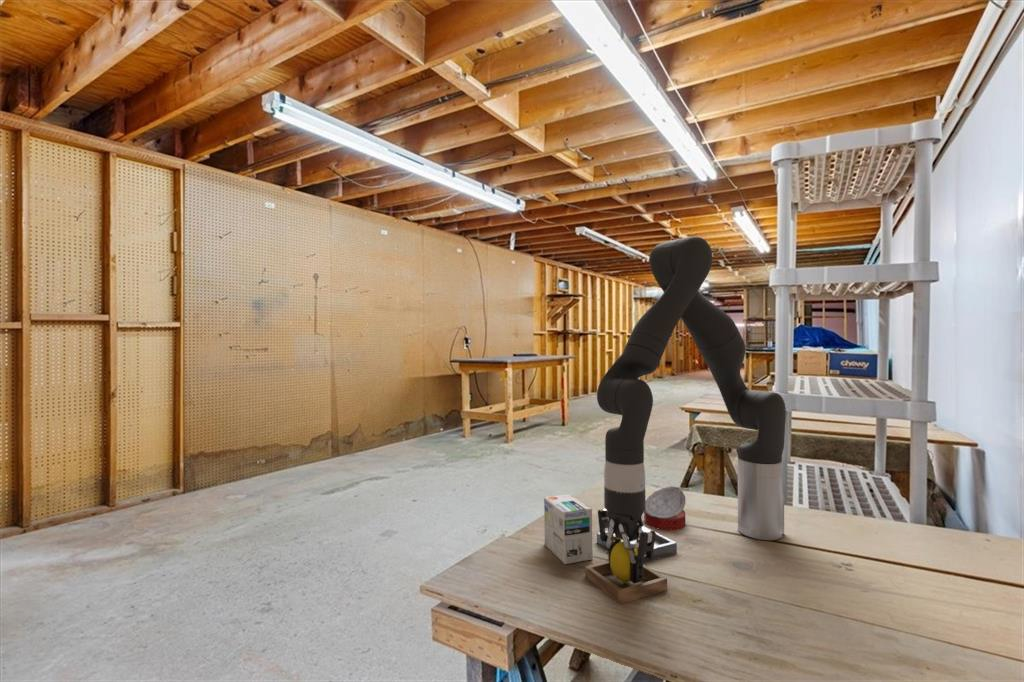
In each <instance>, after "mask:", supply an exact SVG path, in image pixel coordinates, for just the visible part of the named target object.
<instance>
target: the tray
mask: <svg viewBox="0 0 1024 682" xmlns="http://www.w3.org/2000/svg"><path fill="white" fill-rule="evenodd" d="M643 527H645V528H646V529H647V530H652V529H650V528H648V527H646V526H645V525H643ZM607 532H608V530H605V534H607ZM621 542H623V540H621ZM596 543H597V544H598V545H600V546H601V547H603V548H605V549H606V550H608V548H607V546H606V542H605V541H604V542H602V541H601V538H600V531H599V532H596ZM630 543H631V544H634V543H636V540H635V541H631V542H630ZM677 552H678V542H677V541H674V540H672V539H670V538H668V537H666V536H664V535H662V534H660V533H658V532H656V531H655V542H654V550H653V557H652V561H653V560H656V559H657V560H658V559H660V558H664V557H668V556H670V555H676V554H678V553H677ZM645 555H646V552H645Z"/></svg>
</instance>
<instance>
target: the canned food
mask: <svg viewBox="0 0 1024 682" xmlns="http://www.w3.org/2000/svg"><path fill="white" fill-rule="evenodd" d="M645 504H646V509H645V511H644V513H643V521H644V522H643V523H645V525H647V526H648V525H649V526H648V527H650V526H651V528H653V527H654V528H653V529H656V528H659V529H658V530H661V529H665V530H664V531H679V530H682V529H684V528H685V527H686V511H685V510H684V508H685V506H686V496H685V493H684V491H683V490H682V489H680V487H678V486H677V487H676V486H672V485H671V486H667V487H663V488H661V489H658V490H655V491H654V492H653V493H651V494H650V495H649V496H648V497H647V499H645ZM678 529H679V530H678Z"/></svg>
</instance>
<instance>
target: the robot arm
mask: <svg viewBox="0 0 1024 682" xmlns="http://www.w3.org/2000/svg"><path fill="white" fill-rule="evenodd" d="M712 265H713V251H712V248H711V246H710V244H709V242H708V241H707V240H705V238H702V237H700V236H685V237H682V238H678V239H677V238H676V239H673V240H669V241H665V242H661V243H659V244H656V246H654V247H653V248H652V250H651V252H650V254H649V266H650V271H651V273H652V275H653V277H654V279H655V281H656V282H657V284H658V286H659V287H660V288H661V290H662V291H663V293H662V295H661V296H660V297H659V298H658V299H657V300H656V301H655V302H654V303H653V304H652V305H651V306H650V308H649V309H647V310H646V312H645V313H644V314H642V316H640V318H639V319H638V321H637V322H636V323H635V325H634V327H633V329H632V331H631V333H630V336H629V337H628V339H627V342H626V345H625V346H624V349H623V351H622V353H621V355H619V357H618V358H617V359H616V360H615V361H614V362H613V364H612V365H611V366H610V368H609V369H608V370H607V372H606V373H605V374H604V375H603V377H602V379H601V380H600V382H599V385H598V387H597V392H596V399H597V404H598V406H599V408H600V409H601V410H602V411H603V412H606V413H608V414H612V415H619V416H621V417H622V418H621V421H620V424H619V426H615V427H611V428H609V429H608V430H607V431H606V433H605V438H604V439H605V441H604V442H605V446H604V452H605V455H604V456H605V462H604V468H603V469H604V470H603V471H604V472H603V490H604V491H603V495H604V497H603V500H604V501H603V503H604V505H603V507H604V508H601V509H598V510H597V517H598V518H597V519H598V526H599V532H600V538H601V541H602V542H604V541H605V542H606V546H607V548H608V549H607V550H608V551H607V552H608V553H607V554H608V559H607V561H609V567H610V568H611V566H610V556H611V552H612V549H613V547H614V546H615V545H616V544H617V543H619V542H621V540H623V541H624V545H625V549H626V550H628V552H629V556H630V560H631V562H630V581H629V582H631V583H632V584H634V585H636V584H638V583H639V584H640V583H641V582H642V581H643V579H644V578H643V564H646V563H649V562H650V563H651V562H652V561H653V560H652V557H653V550H654V542H655V532H656V530H654V529H651V530H647V529H646V528H645V527H646V526H645V527H643V526H644V522H643V518H642V515H644V511H645V509H646V504H645V501H646V469H645V459H644V458H645V457H644V456H645V452H644V450H645V445H644V444H645V443H644V440H645V436H646V432H647V429H648V426H649V422H650V417H651V414H652V411H653V406H654V405H653V404H654V398H653V393H652V390H651V389H652V388H650V385H649V384H648V383H647V382H646V381H644V380H643V379H639V378H641V377H643V376H647V375H650V374H653V373H654V372H655V371H656V370H657V369H658V367H659V364H660V362H661V360H662V357H663V355H664V353H665V350H666V348H667V346H668V343H669V341H670V338H671V336H672V335H673V333H674V330H675V328H676V326H677V325H678V323H679V321H680V320H682V322H683V324H684V326H685V327H686V328H687V331H688V332H689V333H690V336H691V338H692V340H693V343H694V344H695V346H696V348H697V350H698V352H699V353H700V355H701V358H702V359H703V360H704V362H705V364H706V365H707V367H708V370H709V371H710V373H711V375H712V378H713V379H714V381H715V383H716V385H717V387H718V389H719V392H720V395H721V398H722V400H723V402H724V404H725V408H726V410H727V412H728V414H729V416H730V418H731V420H732V421H733V423H734V424H736V426H738V427H740V428H743V429H748V430H755V431H757V438H756V440H754V441H752V442H745V443H741V444H739V445H738V447H737V530H738V531H739V533H741V534H742V535H744V536H745V537H748V538H752V539H756V540H760V541H776V540H780V539H782V537H783V534H785V493H784V492H783V464H782V463H783V452H784V448H785V440H786V439H785V437H786V435H785V433H786V417H787V414H786V413H787V410H786V403H785V400H784V398H783V396H782V395H781V394H779V393H777V392H774V391H766V390H756V389H750V388H749V387H747V385H746V384H745V382H744V380H743V377H742V375H741V370H742V365H743V363H744V359H745V356H746V344H745V340H744V338H743V337H742V335H741V332H740V331H739V328H738V326H737V324H736V323H735V321H734V320H733V318H732V317H731V316H729V314H727V313H726V312H725V311H724V310H723V309H722V308H720V307H718V306H717V305H716V304H714V303H713V302H712V301H710V300H709V299H708V298H706V297H705V296H704V295H703V294H701V292H700V291H699V290H700V288H701V287H702V285H703V283H704V282H705V281H706V278H707V277H708V275H709V273H710V271H711V269H712ZM606 529H607V531H608V532H607V534H605V531H606ZM635 540H636V543H634V544H631V543H630V542H631V541H635ZM635 548H636V549H637V552H638V555H635V551H634V549H635ZM645 552H646V555H645Z"/></svg>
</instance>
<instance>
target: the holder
mask: <svg viewBox="0 0 1024 682" xmlns="http://www.w3.org/2000/svg"><path fill="white" fill-rule="evenodd" d="M584 570H585V571H584V572H585V573H584V574H585V575H584V577H585V579H587V580H588V581H589V582H591V583H593V584H594V585H595V586H596V587H597V588H599V589H600V590H602V591H603V592H604V593H606V595H608V596H609V597H611V598H612V599H613V600H614V601H616V602H617V603H619V604H620V605H624V604H626V603H629V602H632V601H635V600H639V599H642V598H646V597H648V596H651V595H655V594H657V593H658V594H659V593H662V592H665V591H667V590H668V578H667V577H665V576H664V575H662V574H660V573H659V572H657V571H655V570H654V569H652V568H651V567H649V566H647V565H646V564H645V563H643V579H645V580H647V581H644V582H642V583H641V582H640V583H639V584H638V583H637V584H634V585H632V586H628V587H626V588H620V587H619V586H618V585H617V584H615V583H614V582H612V581H610V580H609V579H608V578H606V577H605V576H604V575H607V574H611V573H613V572H612V570H611V568H610V567H609V561H608V560H606V561H601V562H599V563H595V564H591V565H587V566H585V567H584Z"/></svg>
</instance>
